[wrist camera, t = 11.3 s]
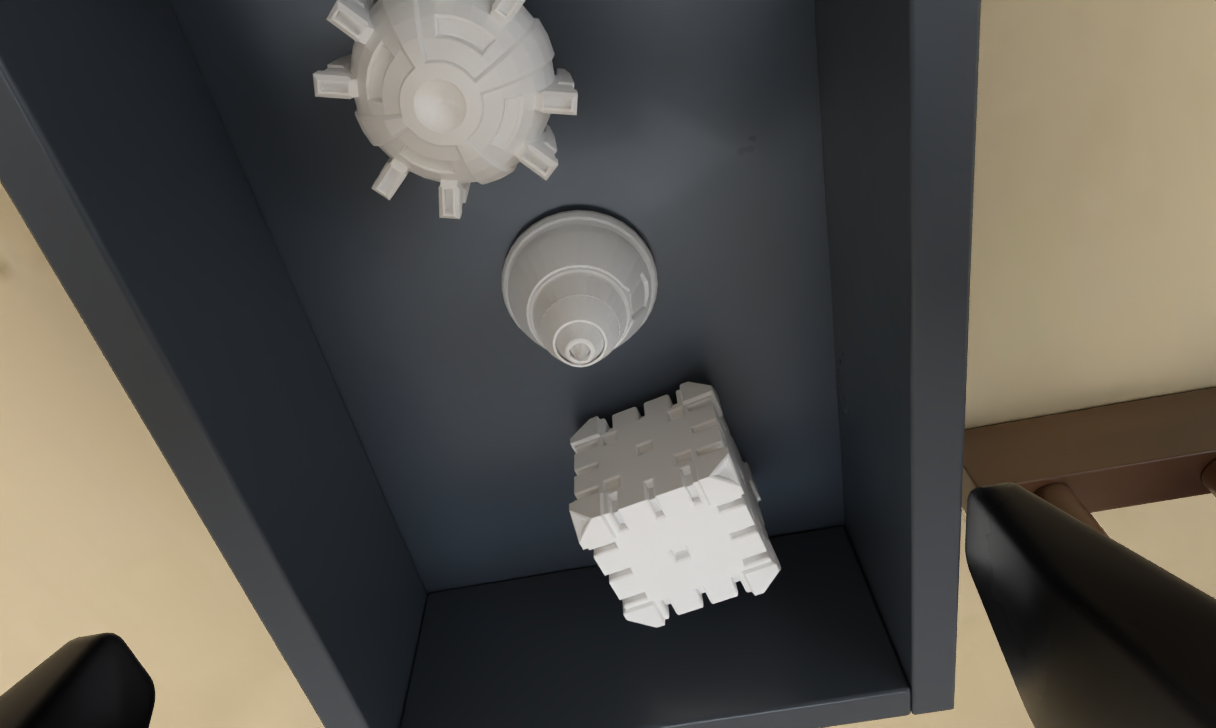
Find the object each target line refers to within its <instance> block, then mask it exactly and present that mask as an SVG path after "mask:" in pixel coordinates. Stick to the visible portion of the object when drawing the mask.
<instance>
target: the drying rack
mask: <svg viewBox="0 0 1216 728" xmlns="http://www.w3.org/2000/svg"><path fill="white" fill-rule="evenodd" d="M1001 483H1014V484H1017V485H1019V486H1021V487H1023V488H1025V489H1026V490H1028V491H1030V492H1031V493H1033V494H1035V495H1037V496H1038V497H1040V498H1042V499H1044V500H1045V501H1047V502H1049V503H1050V504H1052V505H1054V506H1056V507H1057V508H1059V509H1061V510H1063V511H1064V512H1066V513H1068V514H1069V515H1071V516H1073V517H1075V518H1076V519H1078V520H1080V521H1081V522H1083V523H1085V524H1087V525H1088V526H1090V527H1092V528H1094V529H1095V530H1097V531H1099V532H1100V533H1102V534H1104V535H1106V536H1107V537H1109V536H1108V535H1107V534H1106V532H1105V531H1104V530H1103V529H1102V527H1101V526H1100V525H1099V524H1098V522H1097V521H1096V520H1095V519H1094V517H1093V516H1092V515H1091V514H1090V513H1091V512H1097V511H1103V510H1110V509H1116V508H1122V507H1128V506H1134V505H1141V504H1147V503H1153V502H1159V501H1165V500H1172V499H1178V498H1184V497H1190V496H1196V495H1203V494H1209V493H1212V494H1213V495H1214V496H1215V497H1216V387H1215V388H1209V389H1203V390H1197V391H1191V392H1185V393H1179V394H1173V395H1168V396H1162V397H1156V398H1150V399H1144V400H1138V401H1132V402H1126V403H1121V404H1115V405H1109V406H1103V407H1097V408H1091V409H1085V410H1079V411H1074V412H1068V413H1062V414H1056V415H1050V416H1044V417H1038V418H1032V419H1027V420H1021V421H1015V422H1009V423H1003V424H997V425H991V426H985V427H980V428H974V429H968V430H964V454H963V481H962V507H963V509H964V511H965V512H966V514H967V499H968V496H969V493H970V492H971V491H972V490H973V489H975V488H977V487H983V486H989V485H995V484H1001ZM1109 538H1110V537H1109Z"/></svg>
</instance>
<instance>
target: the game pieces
mask: <svg viewBox="0 0 1216 728" xmlns="http://www.w3.org/2000/svg"><path fill="white" fill-rule="evenodd" d="M524 2H525V0H337V1H336V3H335V5H334V6H333V8H332V10H331V12H330V13H329V15H328V17H327V19H326V20H328V21H329V22H330V23H332V24H333V25H334V26H336V27H337V28H339V29H340V30H341V31H343V32H344V33H345V34H347V35H348V36H349V37H351V38H352V39H353V40H355V42H354V45H353V48H352V54H351V55H347V56H343V57H341V58H339V59H337V60H335V61H333V62H331V63H329V64H327V67H328V68H327V69H326V70H324V71H320V70H318V71H316V72H315V73H313V80H314V90H315V97H328V98H342V99H351V98H353V97H354V99H355V103H356V107H357V109H356V111H355V116H356V118H357V120H358V123H359V125H360V127H361V129H362V131H363V133H364V134H365V135H366V137H367V138H368V140H369V141H370V142H371V144H372V145H373V146H379V147H380V148H381V149H382V150H383V151H384V152H385V153H386V154H387V155H388V156H389V157H390V158H389V159H388V161H387V162H386V164H385V165H384V167H383V169H382V170H381V172H380V175H379V176H378V178H377V179H376V181H375V182H374V184H373V186H372V188H371V189H373V190H374V191H376V192H377V193H379V194H380V195H382V196H383V197H385V198H386V199H388V200H390V199H391V198H392V197H393V195H394V194H395V192H396V191H397V189H398V188H399V186H400V185H401V183H402V182H403V180H404V179H405V177H406V176H407V174H408V172H409V171H410V172H412V173H414V174H417V175H419V176H421V177H423V178H426V179H430V180H434V181H438V182H440V186H439V218H450V219H460V217H461V215H462V204H463V203H466V199H467V196H468V192H469V188H470V183H472V182H478V183H480V184H482V185H483V184H487V183H490V182H493V181H496V180H499V179H501V178H503V177H505V176H507V175H508V174H510V173H512V172H514V170H515V169H516V167H517V164H518V163H519V162H521V163H522V164H524V165H525V166H527V167H528V168H529V169H531V170H532V171H533V172H535V173H536V174H538V175H539V176H540V177H542V178H543V179H544V180H546V181H547V179H548V178H549V177H550V175H551V174H552V173H553V171H554V170H555V169H556V167H557V166H558V159H557V158H555V153H556V152H557V146H556V141H555V136H554V134H553V132H552V130H551V128H550V126H549V125H547V122H548V120H549V118H550V114H565V115H577V100H578V93H577V90H576V89H574V81H573V79H572V77H571V74H570V73H569V72H568V71H566V70H565V69H561V68H557V74H556V75H554V69H553V62H552V59H553V57H554V55H555V54H554V51H553V48H552V45H551V42H550V39H549V36H548V34H547V32H546V31H545V29H544V27H543V25H542V23H541V22H540V20H539V19H538V18H533V17H532V15H531V14H530V13H529V12H528V11H527V9H526V8H525V7H524V6H523V3H524ZM657 287H658V280H657V270H656V266H655V263H654V260H653V257H652V254H651V252H650V250H649V249H648V247H647V245H646V243H645V242H644V241H643V240H642V238H641V237H640V236H639V235H638V234H637V233H636V232H635V231H634V230H633V229H632V228H630V227H629V226H628V225H626V224H625V223H624V222H622V221H620V220H618V219H616V218H614V217H612V216H609V215H607V214H603V213H599V212H595V211H586V210H572V211H564V212H559V213H556V214H553V215H550V216H547V217H545V218H543V219H541V220H539V221H537V222H536V223H534V224H532V225H531V226H530V227H529V228H527V229H526V230H525V231H524V232H523V233H522V234H521V235H520V236H519V237H518V238H517V240H516V241H515V242H514V244H513V245H512V246H511V248H510V251H509V253H508V255H507V257H506V259H505V263H504V267H503V272H502V293H503V298H504V303H505V305H506V307H507V310H508V312H509V314H510V316H511V317H512V319H513V320H514V322H515V323H516V324H517V326H518V327H519V328H520V329H521V330H522V331H523V332H524V333H525V334H526V335H527V336H528V337H529V338H531V339H532V340H533V341H534V342H535V343H537V344H538V345H540V346H541V347H543V348H545V349H546V350H548V352H549V353H550V354H551V355H553V356H554V357H555V358H557V359H558V360H560V361H562V362H563V363H565V364H568V365H570V366H574V367H586V366H590V365H592V364H594V363H596V362H598V361H600V360H602V359H603V358H605V357H606V356H607V355H609V354H610V353H611V352H612V350H614V349H615V348H617V347H619V346H620V345H622V344H623V343H624V342H626V341H627V340H628V339H630V338H631V336H632V335H633V334H635V333H636V332H637V331H638V330H639V328H640V327H641V326H642V325H643V324H644V323H645V321H646V320H647V318H648V316H649V315H650V313H651V311H652V309H653V306H654V303H655V300H656V296H657ZM676 398H677V404H674V405H673V403H672V401H671V399H670V397H669V395H667V394H666V395H664V396H661V397H659V398H656V399H653V400H651V401H648V402H645V403H644V413H645V416H642V417H641V415H640V413H639V411H638V409H637V407H632V408H630V409H627V410H624V411H622V412H619V413H616V414H614V415H613V416H612V425H613V428H610V427H609V425H608V423H607V422H606V420H605V419H604V418H603V419H599V417H598V416H596V417H593V418H591V419H589V420H588V421H587V422H586V423H585V424H584V425H583V426H582V427H581V428H580V429H579V430H578V431H577V432H576V433H575V434H574V435H573V436H572V437H571V438H570V444H571V446H572V448H573V450H574V451H575V453H576V454H575V455H574V471H575V472H576V474H577V476H575V477H574V494H575V496H576V498H577V499H578V500H575V501H574V502H572V503H570V504H569V511H570V514H571V518H572V521H573V524H574V528H575V531H576V534H577V538H578V541H579V544H580V545H581V547H582V549H583V550H584V549H587V548H588V549H589V550H592V549H594V559H595V561H596V562H597V564H598V566H599V567H600V569H601V570H602V572H603V574H604V575H605V576H606V575H609V583H610V585H611V587H612V588H613V590H614V592H615V593H616V595H617V597H618V598H619V600H622V602H623V615H624V617H625V618H626V620H628V621H632V622H636V623H640V624H644V625H648V626H652V627H656V628H657V627H661V626H664V625H665V620H666V619H669V608H668V604H671V605H672V606H673V608H674V610H675V612H676V613H677V614H678V615H681V614H684V613H687V612H690V611H693V610H696V609H699V608H703V605H704V604H703V598H702V593H705V592H706V594H707V596H708V598H709V600H710V602H711V603H712V604H715V603H718V602H721V601H724V600H727V599H730V598H733V597H736V596H738V590H737V585H736V582H738V581H741V583H742V585H743V587H744V589H745V591H746V592H748V593H749V592H752V593H753V594H754V595H755V596H756V595H759V594H762V593H764V592H765V591H766V589H767V588H768V587H769V585H770V584H771V582H772V581H773V580H774V578H775V577H776V575H777V574H778V573H779V571H780V570H781V566H780V563H779V560H778V558H777V556H776V554H775V551H774V549H773V547H772V545H771V543H770V541H769V538H768V534H767V531H766V529H765V527H764V525H765V524H764V520H763V517H762V513H761V510H760V507H759V505H758V501H760V500H761V498H760V494H759V492H758V489H757V486H756V483H755V481H754V478H753V475H752V473H751V470H750V467H749V465H748V463H747V462H745V463H744V462H743V461H742V460H741V456H740V453H739V451H738V448H737V446H736V444H735V442H734V439H733V437H731V435H730V431H729V428H728V426H727V424H726V421H725V419H724V417H723V412H722V408H721V405H720V401H719V397H718V395H717V393H716V390H715V389H714V388H713V387H712V386H711V385H705V384H699V383H693V382H685V383H683V384H680V390H677V391H676Z"/></svg>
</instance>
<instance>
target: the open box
mask: <svg viewBox="0 0 1216 728" xmlns="http://www.w3.org/2000/svg"><path fill="white" fill-rule="evenodd" d="M336 1H337V0H0V181H1V183H2V185H3V187H4V188H5V190H6V192H7V193H8V195H9V197H10V198H11V200H12V202H13V203H14V205H15V207H16V208H17V210H18V212H19V213H20V215H21V217H22V218H23V220H24V222H25V224H26V225H27V227H28V229H29V230H30V232H31V234H32V235H33V237H34V239H35V240H36V242H37V244H38V245H39V247H40V249H41V250H42V252H43V254H44V255H45V257H46V259H47V261H48V262H49V264H50V266H51V267H52V269H53V271H54V272H55V274H56V276H57V277H58V279H59V281H60V282H61V284H62V286H63V287H64V289H65V291H66V292H67V294H68V296H69V298H70V299H71V301H72V303H73V304H74V306H75V308H76V309H77V311H78V313H79V314H80V316H81V318H82V319H83V321H84V323H85V324H86V326H87V328H88V329H89V331H90V333H91V335H92V336H93V338H94V340H95V341H96V343H97V345H98V346H99V348H100V350H101V351H102V353H103V355H104V356H105V358H106V360H107V361H108V363H109V365H110V366H111V368H112V370H113V372H114V373H115V375H116V377H117V378H118V380H119V382H120V383H121V385H122V387H123V388H124V390H125V392H126V393H127V395H128V397H129V398H130V400H131V402H132V403H133V405H134V407H135V409H136V410H137V412H138V414H139V415H140V417H141V419H142V420H143V422H144V424H145V425H146V427H147V429H148V430H149V432H150V434H151V435H152V437H153V439H154V440H155V442H156V444H157V446H158V447H159V449H160V451H161V452H162V454H163V456H164V457H165V459H166V461H167V462H168V464H169V466H170V467H171V469H172V471H173V472H174V474H175V476H176V477H177V479H178V481H179V483H180V484H181V486H182V488H183V489H184V491H185V493H186V494H187V496H188V498H189V499H190V501H191V503H192V504H193V506H194V508H195V509H196V511H197V513H198V514H199V516H200V518H201V520H202V521H203V523H204V525H205V526H206V528H207V530H208V531H209V533H210V535H211V536H212V538H213V540H214V541H215V543H216V545H217V546H218V548H219V550H220V551H221V553H222V555H223V557H224V558H225V560H226V562H227V563H228V565H229V567H230V568H231V570H232V572H233V573H234V575H235V577H236V578H237V580H238V582H239V583H240V585H241V587H242V588H243V590H244V592H245V594H246V595H247V597H248V599H249V600H250V602H251V604H252V605H253V607H254V609H255V610H256V612H257V614H258V615H259V617H260V619H261V620H262V622H263V624H264V625H265V627H266V629H267V631H268V632H269V634H270V636H271V637H272V639H273V641H274V642H275V644H276V646H277V647H278V649H279V651H280V652H281V654H282V656H283V657H284V659H285V661H286V662H287V664H288V666H289V668H290V669H291V671H292V673H293V674H294V676H295V678H296V679H297V681H298V683H299V684H300V686H301V688H302V689H303V691H304V693H305V694H306V696H307V698H308V699H309V701H310V703H311V705H312V706H313V708H314V710H315V711H316V713H317V715H318V716H319V718H320V720H321V721H322V723H323V725H324V726H325V728H823V727H830V726H837V725H844V724H851V723H857V722H864V721H871V720H878V719H885V718H892V717H899V716H905V715H909V714H910V712H912V713H913V714H915V715H916V714H923V713H930V712H937V711H944V710H951V709H953V708H954V691H955V664H956V638H957V612H958V586H959V559H960V533H961V507H962V481H963V454H964V428H965V402H966V376H967V349H968V323H969V297H970V271H971V245H972V218H973V192H974V166H975V140H976V113H977V87H978V61H979V35H980V8H981V0H525V2H524V3H523V6H524V7H525V8H526V9H527V11H528V12H529V13H530V14H531V15H532V17H533V18H538V19H539V20H540V22H541V23H542V25H543V27H544V29H545V31H546V32H547V34H548V36H549V39H550V42H551V45H552V48H553V51H554V54H555V55H554V57H553V59H552V62H553V69H554V75H556V74H557V68H561V69H565V70H566V71H568V72H569V73H570V74H571V77H572V79H573V81H574V89H576V90H577V93H578V100H577V115H565V114H550V118H549V120H548V122H547V125H549V126H550V128H551V130H552V132H553V134H554V136H555V141H556V146H557V152H556V153H555V158H557V159H558V166H557V167H556V169H555V170H554V171H553V173H552V174H551V175H550V177H549V178H548V179H547V181H546V180H544V179H543V178H542V177H540V176H539V175H538V174H536V173H535V172H533V171H532V170H531V169H529V168H528V167H527V166H525V165H524V164H522V163H521V162H519V163H518V164H517V167H516V169H515V170H514V172H512V173H510V174H508V175H507V176H505V177H503V178H501V179H499V180H496V181H493V182H490V183H487V184H483V185H482V184H480V183H478V182H472V183H470V188H469V192H468V196H467V199H466V203H463V204H462V215H461V217H460V219H450V218H439V186H440V182H438V181H434V180H430V179H426V178H423V177H421V176H419V175H417V174H414V173H412V172H410V171H409V172H408V174H407V176H406V177H405V179H404V180H403V182H402V183H401V185H400V186H399V188H398V189H397V191H396V192H395V194H394V195H393V197H392V198H391V199H390V200H388V199H386V198H385V197H383V196H382V195H380V194H379V193H377V192H376V191H374V190H373V189H371V188H372V186H373V184H374V182H375V181H376V179H377V178H378V176H379V175H380V172H381V170H382V169H383V167H384V165H385V164H386V162H387V161H388V159H389V158H390V157H389V156H388V155H387V154H386V153H385V152H384V151H383V150H382V149H381V148H380V147H379V146H373V145H372V144H371V142H370V141H369V140H368V138H367V137H366V135H365V134H364V133H363V131H362V129H361V127H360V125H359V123H358V120H357V118H356V116H355V111H356V109H357V107H356V103H355V99H354V97H353V98H351V99H342V98H328V97H315V90H314V80H313V73H315V72H316V71H318V70H320V71H324V70H326V69H327V68H328V67H327V64H329V63H331V62H333V61H335V60H337V59H339V58H341V57H343V56H347V55H351V54H352V48H353V45H354V42H355V40H353V39H352V38H351V37H349V36H348V35H347V34H345V33H344V32H343V31H341V30H340V29H339V28H337V27H336V26H334V25H333V24H332V23H330V22H329V21H328V20H326V19H327V17H328V15H329V13H330V12H331V10H332V8H333V6H334V5H335V3H336ZM572 210H586V211H595V212H599V213H603V214H607V215H609V216H612V217H614V218H616V219H618V220H620V221H622V222H624V223H625V224H626V225H628V226H629V227H630V228H632V229H633V230H634V231H635V232H636V233H637V234H638V235H639V236H640V237H641V238H642V240H643V241H644V242H645V243H646V245H647V247H648V249H649V250H650V252H651V254H652V257H653V260H654V263H655V266H656V270H657V280H658V287H657V296H656V300H655V303H654V306H653V309H652V311H651V313H650V315H649V316H648V318H647V320H646V321H645V323H644V324H643V325H642V326H641V327H640V328H639V330H638V331H637V332H636V333H635V334H633V335H632V336H631V338H630V339H628V340H627V341H626V342H624V343H623V344H622V345H620V346H619V347H617V348H615V349H614V350H612V352H611V353H610V354H609V355H607V356H606V357H605V358H603V359H602V360H600V361H598V362H596V363H594V364H592V365H590V366H586V367H574V366H570V365H568V364H565V363H563V362H562V361H560V360H558V359H557V358H555V357H554V356H553V355H551V354H550V353H549V352H548V350H546V349H545V348H543V347H541V346H540V345H538V344H537V343H535V342H534V341H533V340H532V339H531V338H529V337H528V336H527V335H526V334H525V333H524V332H523V331H522V330H521V329H520V328H519V327H518V326H517V324H516V323H515V322H514V320H513V319H512V317H511V316H510V314H509V312H508V310H507V307H506V305H505V303H504V298H503V293H502V272H503V267H504V263H505V259H506V257H507V255H508V253H509V251H510V248H511V246H512V245H513V244H514V242H515V241H516V240H517V238H518V237H519V236H520V235H521V234H522V233H523V232H524V231H525V230H526V229H527V228H529V227H530V226H531V225H532V224H534V223H536V222H537V221H539V220H541V219H543V218H545V217H547V216H550V215H553V214H556V213H559V212H564V211H572ZM685 382H693V383H699V384H705V385H711V386H712V387H713V388H714V389H715V390H716V393H717V395H718V397H719V401H720V405H721V408H722V412H723V417H724V419H725V421H726V424H727V426H728V428H729V431H730V435H731V437H733V439H734V442H735V444H736V446H737V448H738V451H739V453H740V456H741V460H742V461H743V462H744V463H745V462H747V463H748V465H749V467H750V470H751V473H752V475H753V478H754V481H755V483H756V486H757V489H758V492H759V494H760V498H761V500H760V501H758V505H759V507H760V510H761V513H762V517H763V520H764V524H765V525H764V527H765V529H766V531H767V534H768V538H769V541H770V543H771V545H772V547H773V549H774V551H775V554H776V556H777V558H778V560H779V563H780V566H781V570H780V571H779V573H778V574H777V575H776V577H775V578H774V580H773V581H772V582H771V584H770V585H769V587H768V588H767V589H766V591H765V592H764V593H762V594H759V595H756V596H755V595H754V594H753V593H752V592H749V593H748V592H746V591H745V589H744V587H743V585H742V583H741V581H738V582H736V585H737V590H738V596H736V597H733V598H730V599H727V600H724V601H721V602H718V603H715V604H712V603H711V602H710V600H709V598H708V596H707V594H706V592H705V593H702V598H703V604H704V605H703V608H699V609H696V610H693V611H690V612H687V613H684V614H681V615H678V614H677V613H676V612H675V610H674V608H673V606H672V605H671V604H668V608H669V619H666V620H665V625H664V626H661V627H657V628H656V627H652V626H648V625H644V624H640V623H636V622H632V621H628V620H626V618H625V617H624V615H623V602H622V600H619V598H618V597H617V595H616V593H615V592H614V590H613V588H612V587H611V585H610V583H609V575H606V576H605V575H604V574H603V572H602V570H601V569H600V567H599V566H598V564H597V562H596V561H595V559H594V549H592V550H589V549H588V548H587V549H584V550H583V549H582V547H581V545H580V544H579V541H578V538H577V534H576V531H575V528H574V524H573V521H572V518H571V514H570V511H569V504H570V503H572V502H574V501H575V500H578V499H577V498H576V496H575V494H574V477H575V476H577V474H576V472H575V471H574V455H575V454H576V453H575V451H574V450H573V448H572V446H571V444H570V438H571V437H572V436H573V435H574V434H575V433H576V432H577V431H578V430H579V429H580V428H581V427H582V426H583V425H584V424H585V423H586V422H587V421H588V420H589V419H591V418H593V417H596V416H598V417H599V419H603V418H604V419H605V420H606V422H607V423H608V425H609V427H610V428H613V425H612V416H613V415H614V414H616V413H619V412H622V411H624V410H627V409H630V408H632V407H637V409H638V411H639V413H640V415H641V417H642V416H645V413H644V403H645V402H648V401H651V400H653V399H656V398H659V397H661V396H664V395H666V394H667V395H669V397H670V399H671V401H672V403H673V405H674V404H677V398H676V391H677V390H680V384H683V383H685Z"/></svg>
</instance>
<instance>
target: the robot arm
mask: <svg viewBox="0 0 1216 728" xmlns="http://www.w3.org/2000/svg"><path fill="white" fill-rule="evenodd" d="M965 552H966V559H967V564H968V567H969V570H970V573H971V576H972V578H973V581H974V583H975V586H976V588H977V590H978V593H979V595H980V598H981V600H982V603H983V605H984V608H985V610H986V613H987V615H988V618H989V620H990V623H991V625H992V628H993V630H994V633H995V635H996V637H997V640H998V642H999V645H1000V647H1001V650H1002V652H1003V655H1004V657H1005V660H1006V662H1007V665H1008V667H1009V670H1010V672H1011V675H1012V677H1013V680H1014V682H1015V685H1016V687H1017V689H1018V692H1019V694H1020V696H1021V699H1022V701H1023V703H1024V706H1025V708H1026V710H1027V713H1028V715H1029V717H1030V719H1031V721H1032V723H1033V725H1034V727H1035V728H1216V599H1214V598H1213V597H1211V596H1209V595H1207V594H1206V593H1204V592H1202V591H1201V590H1199V589H1197V588H1195V587H1194V586H1192V585H1190V584H1188V583H1187V582H1185V581H1183V580H1182V579H1180V578H1178V577H1176V576H1175V575H1173V574H1171V573H1169V572H1168V571H1166V570H1164V569H1163V568H1161V567H1159V566H1157V565H1156V564H1154V563H1152V562H1151V561H1149V560H1147V559H1145V558H1144V557H1142V556H1140V555H1138V554H1137V553H1135V552H1133V551H1132V550H1130V549H1128V548H1126V547H1125V546H1123V545H1121V544H1119V543H1118V542H1116V541H1114V540H1113V539H1111V538H1109V537H1107V536H1106V535H1104V534H1102V533H1100V532H1099V531H1097V530H1095V529H1094V528H1092V527H1090V526H1088V525H1087V524H1085V523H1083V522H1081V521H1080V520H1078V519H1076V518H1075V517H1073V516H1071V515H1069V514H1068V513H1066V512H1064V511H1063V510H1061V509H1059V508H1057V507H1056V506H1054V505H1052V504H1050V503H1049V502H1047V501H1045V500H1044V499H1042V498H1040V497H1038V496H1037V495H1035V494H1033V493H1031V492H1030V491H1028V490H1026V489H1025V488H1023V487H1021V486H1019V485H1017V484H1014V483H1001V484H995V485H989V486H983V487H977V488H975V489H973V490H972V491H971V492H970V493H969V496H968V499H967V516H966V540H965ZM154 703H155V688H154V684H153V681H152V679H151V677H150V676H149V674H148V673H147V672H146V670H145V669H144V667H143V666H142V665H141V663H140V662H139V661H138V659H137V658H136V657H135V655H134V654H133V653H132V651H131V650H130V648H129V647H128V646H127V644H126V643H125V642H124V640H123V639H122V638H121V637H119V636H118V635H116V634H114V633H102V634H96V635H90V636H84V637H79V638H76V639H73V640H71V641H69V642H68V643H67V644H65V645H64V646H63V647H61V648H60V649H59V650H58V651H56V652H55V653H54V654H53V655H51V656H50V657H49V658H48V659H46V660H45V661H44V662H43V663H41V664H40V665H39V666H38V667H36V668H35V669H34V670H33V671H31V672H30V673H29V674H28V675H26V676H25V677H24V678H23V679H21V680H20V681H19V682H18V683H16V684H15V685H14V686H13V687H12V688H10V689H9V690H8V691H7V692H5V693H4V694H3V695H2V696H0V728H149V724H150V720H151V716H152V712H153V708H154Z"/></svg>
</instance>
